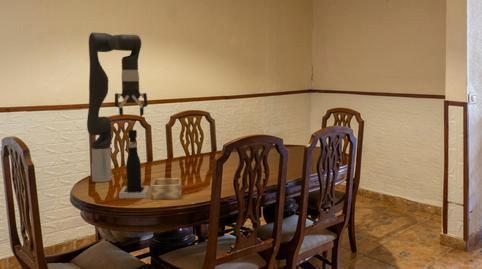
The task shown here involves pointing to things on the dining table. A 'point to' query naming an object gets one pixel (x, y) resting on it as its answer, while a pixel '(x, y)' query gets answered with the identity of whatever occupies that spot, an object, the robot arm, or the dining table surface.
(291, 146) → the dining table surface
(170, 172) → the dining table surface
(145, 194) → the grey square tray
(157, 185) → the crate
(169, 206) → the dining table surface
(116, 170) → the dining table surface
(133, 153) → the wine bottle
